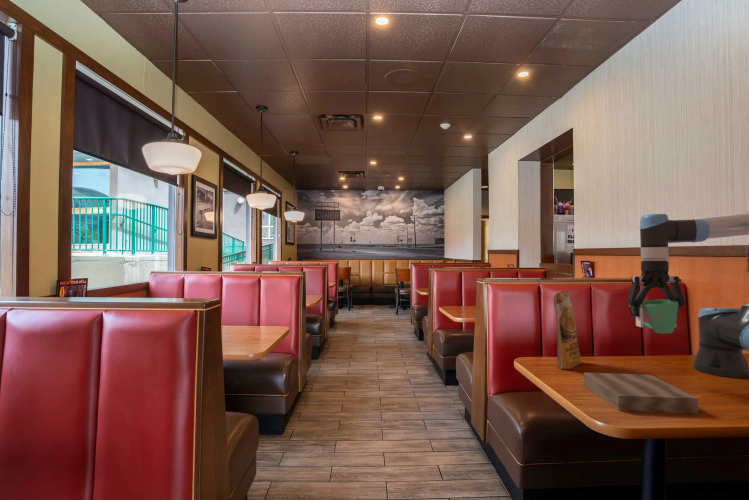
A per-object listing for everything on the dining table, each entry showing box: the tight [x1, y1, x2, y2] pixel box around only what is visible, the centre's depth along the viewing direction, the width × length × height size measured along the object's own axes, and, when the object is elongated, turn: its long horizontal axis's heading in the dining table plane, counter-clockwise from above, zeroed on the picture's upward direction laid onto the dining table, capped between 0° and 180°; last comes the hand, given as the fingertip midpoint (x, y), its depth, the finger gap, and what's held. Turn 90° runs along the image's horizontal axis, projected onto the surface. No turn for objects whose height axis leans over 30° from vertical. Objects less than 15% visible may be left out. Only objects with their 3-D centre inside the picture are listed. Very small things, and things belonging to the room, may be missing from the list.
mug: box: [628, 299, 679, 335], centre depth 125 cm, size 15×10×10 cm
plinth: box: [583, 372, 699, 415], centre depth 110 cm, size 20×20×4 cm
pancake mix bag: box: [553, 291, 582, 370], centre depth 143 cm, size 7×19×28 cm, turn 132°
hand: (655, 326), depth 125 cm, fingers closed on mug, 10 cm apart
